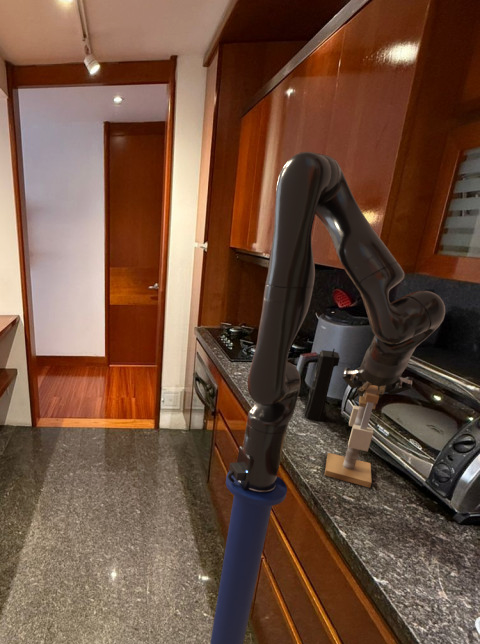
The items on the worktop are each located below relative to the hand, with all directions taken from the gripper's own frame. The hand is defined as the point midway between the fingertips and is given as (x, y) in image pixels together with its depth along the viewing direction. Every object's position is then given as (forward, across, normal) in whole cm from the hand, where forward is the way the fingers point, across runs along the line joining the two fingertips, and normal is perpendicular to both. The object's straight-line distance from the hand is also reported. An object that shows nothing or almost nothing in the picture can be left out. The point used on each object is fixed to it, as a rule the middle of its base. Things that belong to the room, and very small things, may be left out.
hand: (368, 394), depth 96 cm
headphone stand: (+14, 0, +17) cm, 22 cm away
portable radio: (+37, +10, -6) cm, 39 cm away
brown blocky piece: (+6, 0, +9) cm, 11 cm away
